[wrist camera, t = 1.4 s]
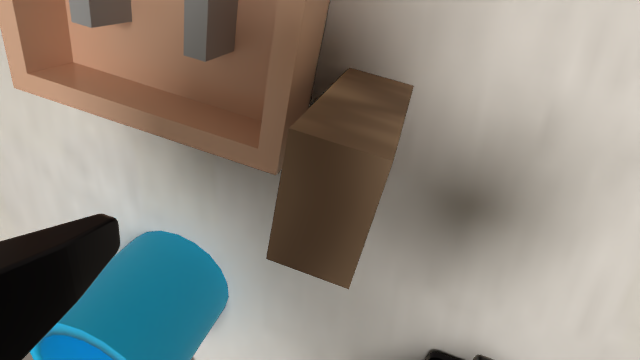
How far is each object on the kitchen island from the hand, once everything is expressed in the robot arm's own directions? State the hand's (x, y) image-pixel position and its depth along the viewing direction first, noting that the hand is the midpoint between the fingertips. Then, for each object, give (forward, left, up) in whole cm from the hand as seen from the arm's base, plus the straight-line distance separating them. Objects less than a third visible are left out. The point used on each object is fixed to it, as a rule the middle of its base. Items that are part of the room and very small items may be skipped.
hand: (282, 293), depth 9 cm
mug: (+12, +16, -12) cm, 23 cm away
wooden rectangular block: (0, 0, -11) cm, 11 cm away
